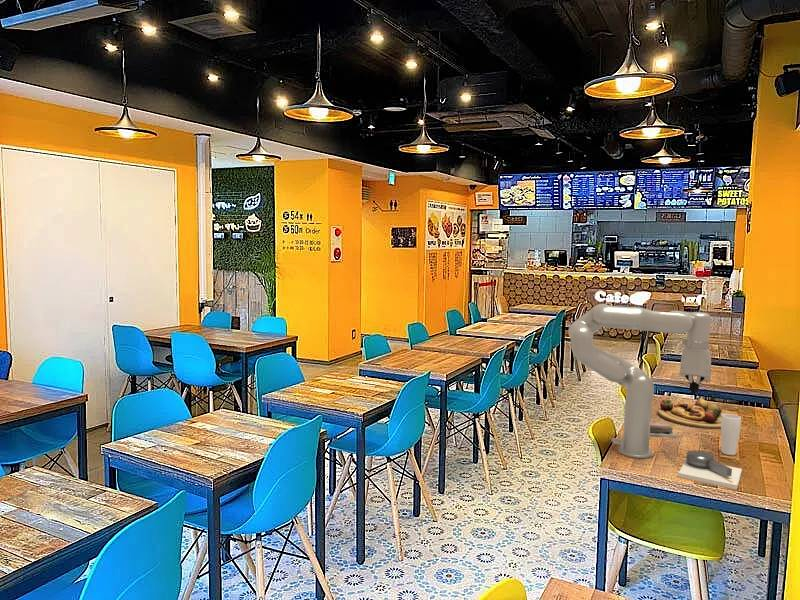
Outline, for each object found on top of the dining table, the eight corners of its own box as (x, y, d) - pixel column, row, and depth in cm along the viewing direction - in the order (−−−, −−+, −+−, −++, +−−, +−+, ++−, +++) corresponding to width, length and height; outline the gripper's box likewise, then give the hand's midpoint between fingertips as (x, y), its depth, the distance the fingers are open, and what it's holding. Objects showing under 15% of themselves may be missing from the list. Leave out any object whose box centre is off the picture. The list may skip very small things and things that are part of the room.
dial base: (676, 476, 211) (677, 471, 211) (685, 461, 226) (685, 456, 226) (736, 489, 201) (737, 484, 201) (741, 472, 216) (742, 467, 216)
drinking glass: (720, 449, 240) (723, 412, 239) (740, 453, 236) (743, 415, 234) (716, 453, 235) (719, 416, 233) (736, 457, 231) (739, 419, 229)
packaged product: (633, 425, 254) (627, 418, 264) (632, 436, 255) (626, 429, 265) (677, 428, 252) (670, 421, 262) (677, 439, 253) (669, 431, 262)
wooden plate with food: (645, 417, 283) (646, 400, 282) (674, 404, 304) (675, 389, 303) (717, 436, 260) (719, 417, 259) (743, 421, 281) (745, 404, 280)
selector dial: (680, 460, 221) (681, 451, 221) (700, 458, 224) (700, 449, 224) (718, 479, 205) (719, 469, 204) (739, 476, 207) (740, 467, 207)
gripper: (673, 344, 227) (670, 391, 229) (718, 349, 219) (714, 398, 221) (677, 341, 233) (674, 388, 235) (720, 346, 225) (717, 394, 227)
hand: (693, 392), depth 228 cm, fingers closed
